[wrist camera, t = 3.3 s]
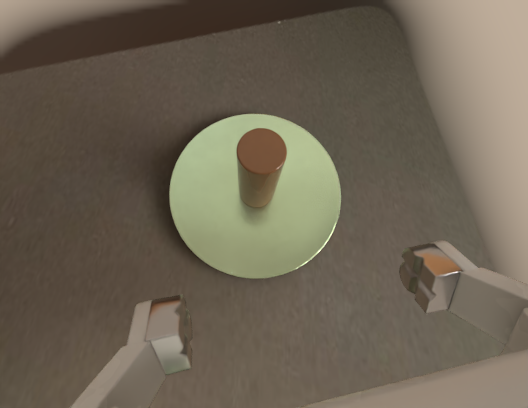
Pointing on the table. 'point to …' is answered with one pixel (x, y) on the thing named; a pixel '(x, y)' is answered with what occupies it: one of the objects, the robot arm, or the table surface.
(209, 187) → the lid
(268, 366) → the table surface
